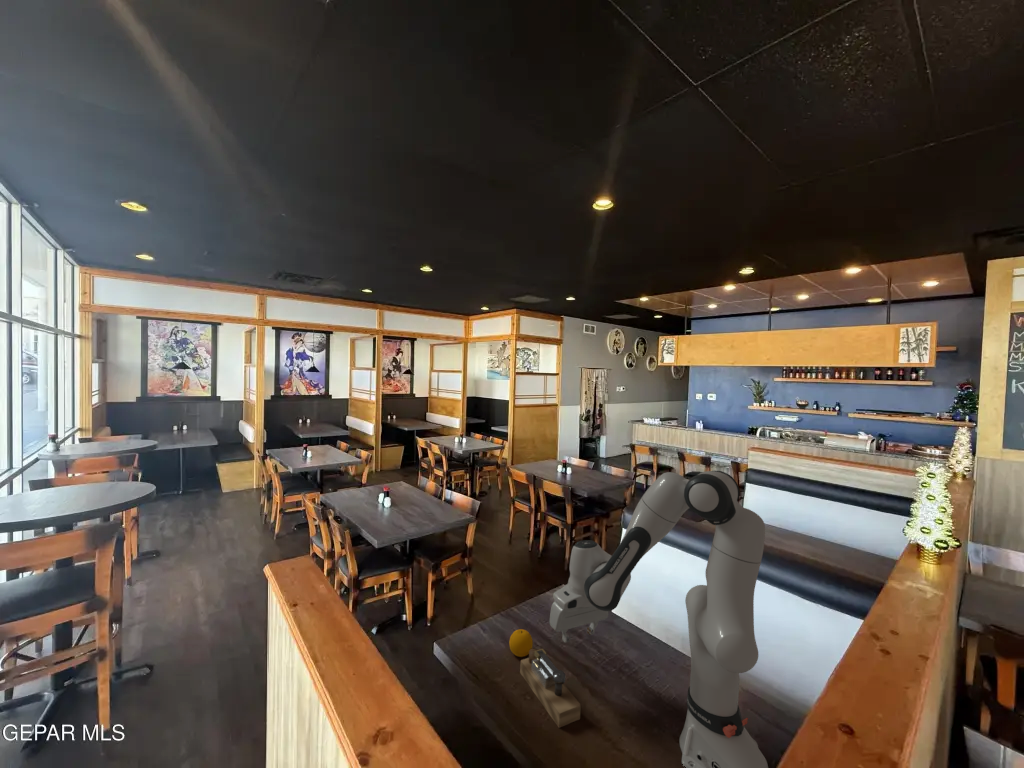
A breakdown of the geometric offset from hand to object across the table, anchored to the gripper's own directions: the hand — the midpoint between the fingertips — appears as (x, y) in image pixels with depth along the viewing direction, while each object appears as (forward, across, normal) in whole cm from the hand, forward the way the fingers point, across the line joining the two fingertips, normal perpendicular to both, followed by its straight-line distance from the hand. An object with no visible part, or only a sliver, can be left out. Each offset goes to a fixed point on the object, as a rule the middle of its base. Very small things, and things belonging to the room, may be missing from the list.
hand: (578, 637), depth 127 cm
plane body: (+14, +10, +1) cm, 18 cm away
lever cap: (+10, +11, -1) cm, 15 cm away
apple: (+15, +10, -18) cm, 25 cm away
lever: (+6, +11, +1) cm, 12 cm away
